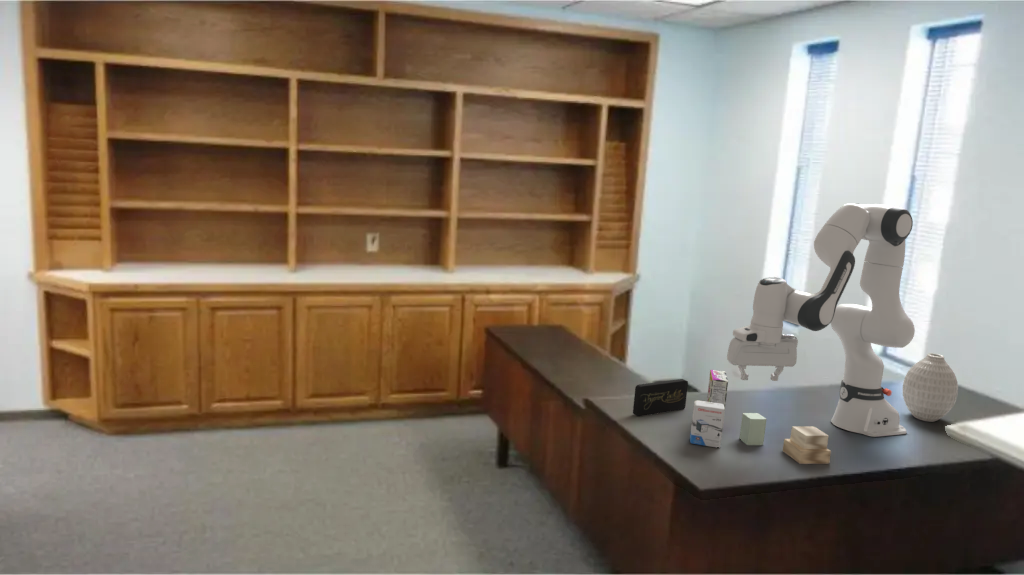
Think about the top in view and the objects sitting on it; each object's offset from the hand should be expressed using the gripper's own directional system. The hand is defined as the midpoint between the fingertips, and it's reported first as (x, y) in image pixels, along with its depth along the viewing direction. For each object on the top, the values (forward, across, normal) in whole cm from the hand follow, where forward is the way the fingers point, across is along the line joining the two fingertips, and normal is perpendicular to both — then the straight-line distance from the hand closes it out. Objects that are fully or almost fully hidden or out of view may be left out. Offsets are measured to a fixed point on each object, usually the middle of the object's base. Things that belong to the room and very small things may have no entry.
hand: (759, 380), depth 215 cm
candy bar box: (+19, +6, -13) cm, 24 cm away
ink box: (+19, +15, +1) cm, 24 cm away
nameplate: (+19, +19, -25) cm, 37 cm away
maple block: (+15, -11, +11) cm, 22 cm away
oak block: (+19, -11, +11) cm, 25 cm away
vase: (+19, -75, -21) cm, 80 cm away
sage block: (+19, 0, 0) cm, 19 cm away
